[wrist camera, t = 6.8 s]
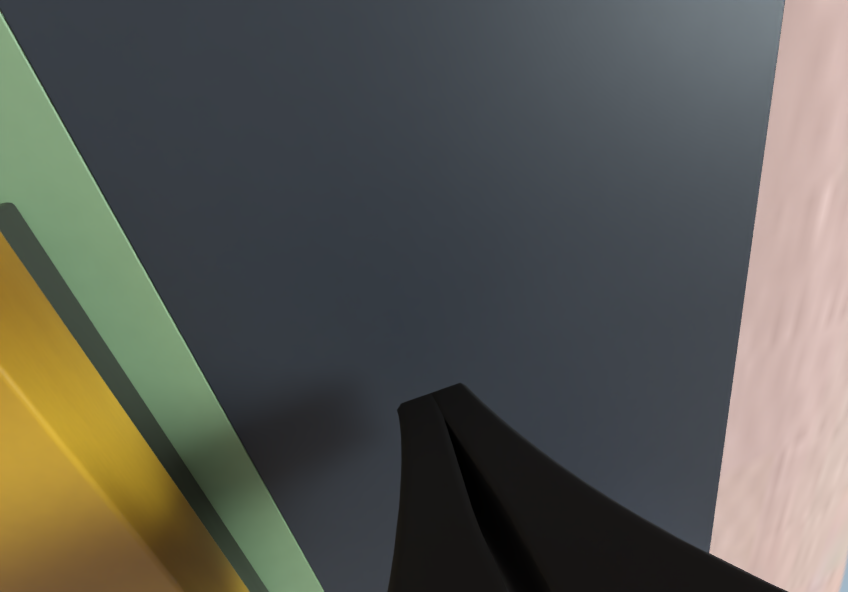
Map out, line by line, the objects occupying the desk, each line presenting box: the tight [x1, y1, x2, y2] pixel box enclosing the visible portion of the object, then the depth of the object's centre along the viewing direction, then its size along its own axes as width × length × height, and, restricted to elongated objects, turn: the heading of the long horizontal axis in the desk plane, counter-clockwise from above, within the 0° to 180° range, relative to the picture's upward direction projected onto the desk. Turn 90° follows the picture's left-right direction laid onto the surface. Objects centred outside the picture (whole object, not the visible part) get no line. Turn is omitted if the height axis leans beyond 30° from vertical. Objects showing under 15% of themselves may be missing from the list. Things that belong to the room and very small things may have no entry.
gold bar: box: [0, 202, 269, 592], centre depth 8 cm, size 12×4×3 cm, turn 12°
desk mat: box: [0, 0, 785, 592], centre depth 11 cm, size 26×22×1 cm
